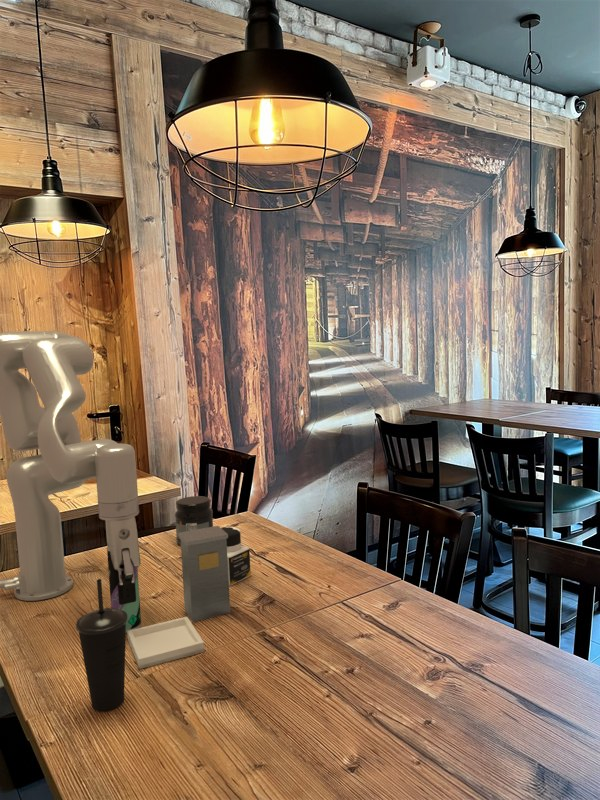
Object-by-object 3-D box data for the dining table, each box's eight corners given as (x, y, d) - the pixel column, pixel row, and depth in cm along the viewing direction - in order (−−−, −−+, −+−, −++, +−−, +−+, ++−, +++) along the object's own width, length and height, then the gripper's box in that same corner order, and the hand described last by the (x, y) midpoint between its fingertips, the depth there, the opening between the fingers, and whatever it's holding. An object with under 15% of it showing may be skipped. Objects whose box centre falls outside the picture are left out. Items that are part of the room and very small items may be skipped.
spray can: (107, 632, 116) (99, 533, 114) (123, 619, 121) (116, 524, 119) (131, 635, 115) (124, 535, 112) (146, 622, 120) (140, 526, 118)
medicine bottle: (230, 586, 136) (227, 535, 134) (208, 580, 140) (205, 530, 139) (251, 576, 141) (249, 527, 140) (229, 570, 146) (227, 522, 144)
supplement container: (202, 533, 175) (200, 493, 174) (221, 541, 167) (218, 500, 166) (170, 541, 169) (167, 500, 167) (187, 551, 160) (184, 507, 159)
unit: (191, 623, 119) (186, 541, 117) (183, 610, 124) (178, 532, 123) (232, 613, 122) (228, 534, 121) (222, 601, 128) (218, 525, 126)
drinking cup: (115, 682, 99) (106, 566, 97) (143, 698, 94) (134, 577, 92) (72, 705, 93) (62, 582, 91) (100, 724, 88) (90, 594, 86)
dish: (139, 669, 102) (138, 659, 102) (127, 639, 113) (127, 630, 113) (204, 651, 107) (203, 642, 107) (187, 625, 118) (187, 616, 118)
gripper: (147, 515, 109) (153, 609, 111) (130, 495, 125) (136, 577, 127) (104, 522, 106) (111, 618, 108) (93, 500, 122) (99, 585, 123)
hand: (124, 595), depth 117 cm, fingers closed on spray can, 5 cm apart
